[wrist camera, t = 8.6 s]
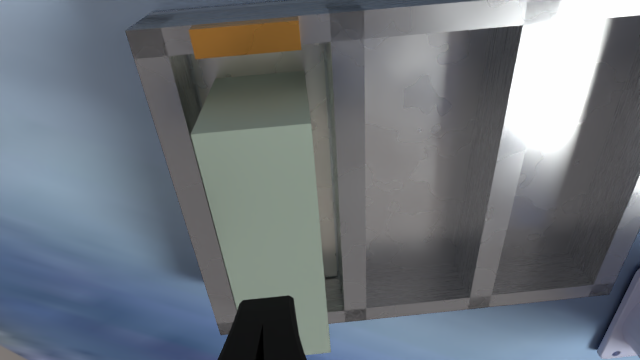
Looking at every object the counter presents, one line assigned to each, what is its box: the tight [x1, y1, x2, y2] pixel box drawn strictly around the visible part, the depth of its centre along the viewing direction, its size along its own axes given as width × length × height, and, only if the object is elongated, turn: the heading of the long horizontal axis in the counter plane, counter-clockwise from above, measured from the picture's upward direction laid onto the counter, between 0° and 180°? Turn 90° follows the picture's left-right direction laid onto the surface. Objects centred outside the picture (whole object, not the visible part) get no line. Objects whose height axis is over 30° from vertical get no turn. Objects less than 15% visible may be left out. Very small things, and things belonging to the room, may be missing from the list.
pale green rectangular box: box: [191, 71, 331, 355], centre depth 15 cm, size 3×10×4 cm, turn 4°
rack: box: [125, 0, 640, 335], centre depth 16 cm, size 18×14×3 cm
